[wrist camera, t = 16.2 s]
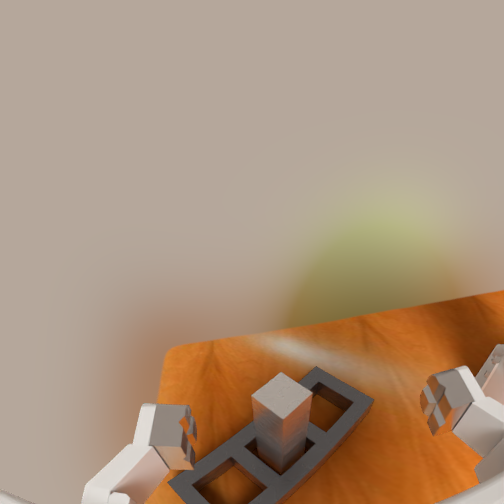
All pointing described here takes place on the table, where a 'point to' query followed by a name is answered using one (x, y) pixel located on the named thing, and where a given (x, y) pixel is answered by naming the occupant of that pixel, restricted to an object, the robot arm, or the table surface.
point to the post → (281, 421)
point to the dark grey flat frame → (258, 472)
